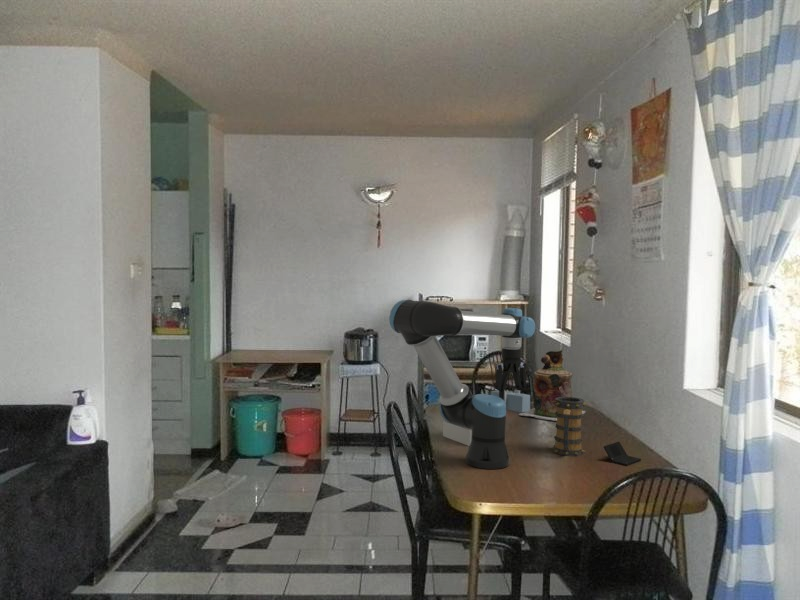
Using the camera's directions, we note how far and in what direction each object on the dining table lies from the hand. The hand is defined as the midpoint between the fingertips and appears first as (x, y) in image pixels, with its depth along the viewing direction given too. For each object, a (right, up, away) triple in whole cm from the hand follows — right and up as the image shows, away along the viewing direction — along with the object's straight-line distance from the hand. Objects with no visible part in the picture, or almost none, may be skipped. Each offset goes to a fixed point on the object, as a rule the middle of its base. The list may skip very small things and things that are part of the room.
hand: (510, 407), depth 257 cm
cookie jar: (+29, -14, +56) cm, 65 cm away
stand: (-15, -14, +9) cm, 22 cm away
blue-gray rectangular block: (0, -1, 0) cm, 0 cm away
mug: (+20, -16, -10) cm, 27 cm away
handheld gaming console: (+38, -17, -18) cm, 45 cm away
